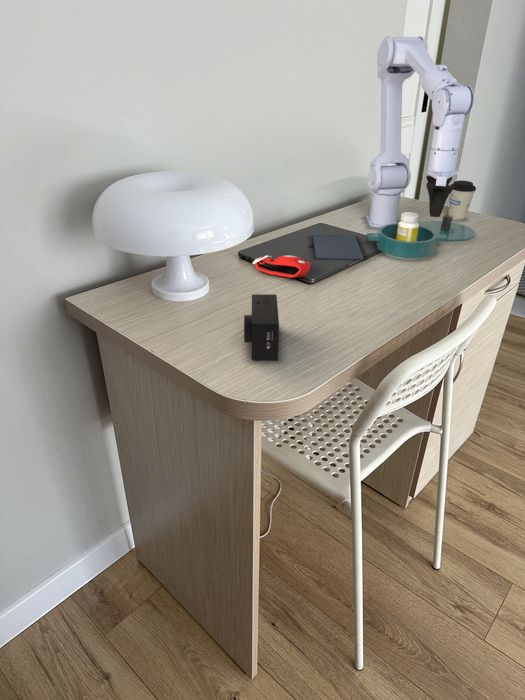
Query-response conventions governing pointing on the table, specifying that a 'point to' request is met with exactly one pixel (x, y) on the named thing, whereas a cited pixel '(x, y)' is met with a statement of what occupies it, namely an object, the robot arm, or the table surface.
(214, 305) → the table surface
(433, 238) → the pot
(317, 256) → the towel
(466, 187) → the coffee cup
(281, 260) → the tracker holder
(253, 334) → the digital camera
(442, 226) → the pot lid
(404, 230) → the supplement bottle
